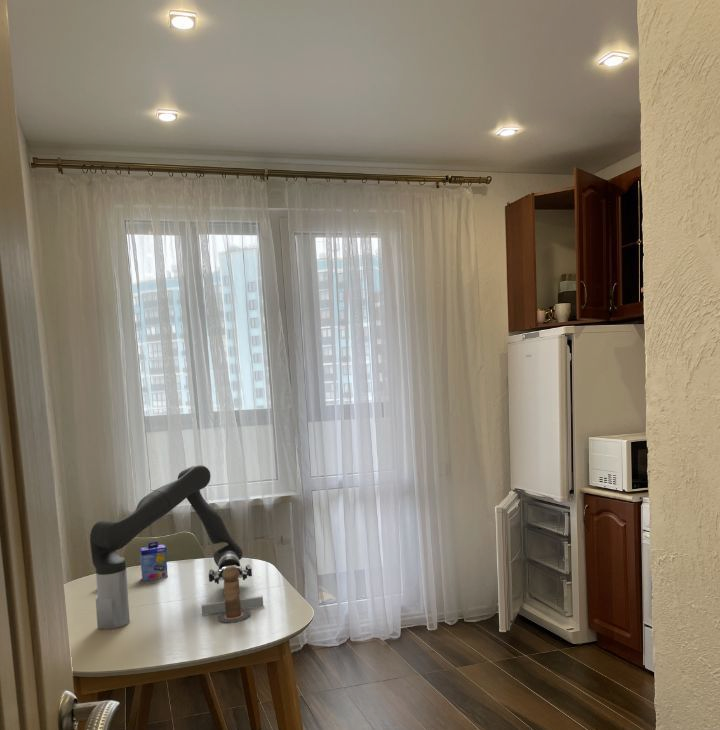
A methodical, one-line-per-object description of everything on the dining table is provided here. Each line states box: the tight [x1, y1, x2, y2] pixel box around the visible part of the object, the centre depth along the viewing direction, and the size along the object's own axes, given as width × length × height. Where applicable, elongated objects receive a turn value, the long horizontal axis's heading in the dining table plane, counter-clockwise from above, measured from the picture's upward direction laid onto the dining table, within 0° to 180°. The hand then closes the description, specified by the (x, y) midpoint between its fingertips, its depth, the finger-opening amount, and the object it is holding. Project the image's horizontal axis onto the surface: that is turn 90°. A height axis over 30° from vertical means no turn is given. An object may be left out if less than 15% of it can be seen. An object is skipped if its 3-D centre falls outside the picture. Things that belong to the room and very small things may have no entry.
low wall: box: [200, 595, 264, 616], centre depth 222 cm, size 20×2×3 cm, turn 103°
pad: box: [217, 609, 250, 624], centre depth 215 cm, size 10×10×1 cm
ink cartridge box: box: [139, 540, 169, 582], centre depth 269 cm, size 10×6×14 cm, turn 115°
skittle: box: [222, 566, 242, 618], centre depth 215 cm, size 5×5×16 cm
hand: (231, 578), depth 221 cm, fingers open, 8 cm apart
